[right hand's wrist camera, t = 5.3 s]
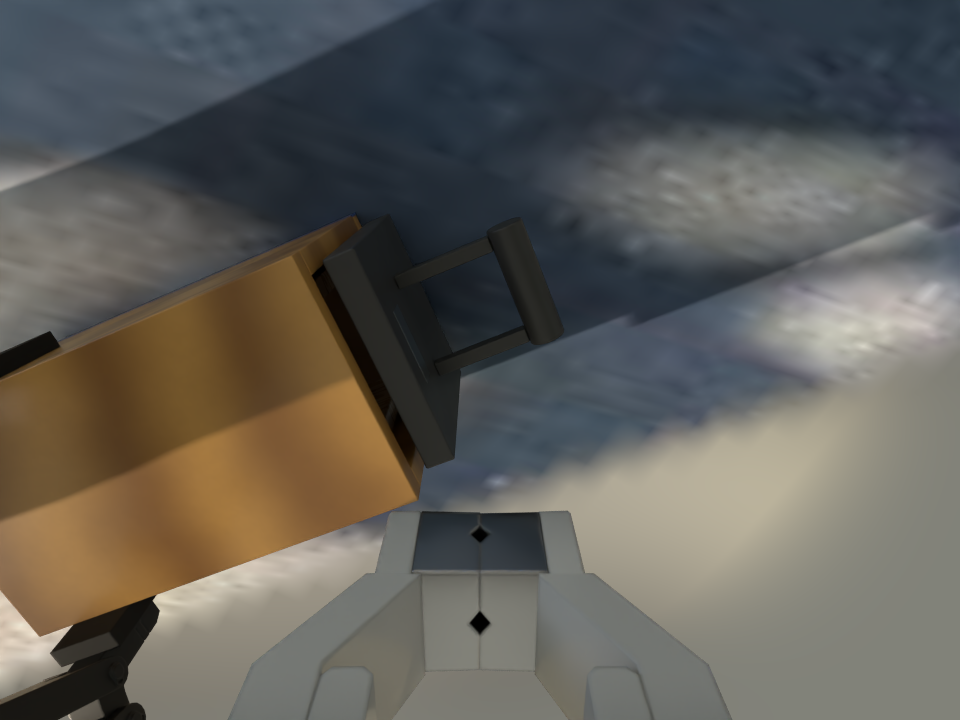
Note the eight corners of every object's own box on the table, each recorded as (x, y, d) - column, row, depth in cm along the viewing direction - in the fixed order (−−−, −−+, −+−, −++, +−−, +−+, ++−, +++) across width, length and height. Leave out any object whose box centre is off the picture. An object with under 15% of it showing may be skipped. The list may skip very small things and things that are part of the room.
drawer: (499, 165, 29) (508, 180, 20) (563, 332, 32) (595, 407, 23) (106, 334, 32) (-32, 410, 23) (197, 473, 34) (104, 587, 26)
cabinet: (355, 212, 30) (291, 255, 20) (437, 386, 34) (419, 500, 23) (63, 338, 33) (-131, 436, 22) (166, 490, 36) (39, 637, 25)
